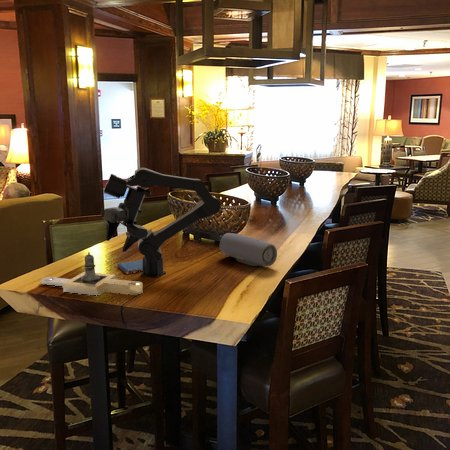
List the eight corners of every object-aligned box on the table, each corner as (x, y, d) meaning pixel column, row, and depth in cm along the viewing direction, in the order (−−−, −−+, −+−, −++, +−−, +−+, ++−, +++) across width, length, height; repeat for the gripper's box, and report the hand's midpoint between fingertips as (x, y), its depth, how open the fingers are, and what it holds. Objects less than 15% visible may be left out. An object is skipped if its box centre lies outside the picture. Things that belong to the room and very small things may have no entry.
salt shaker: (90, 292, 154) (87, 255, 151) (77, 288, 157) (75, 252, 154) (104, 286, 159) (102, 251, 156) (91, 283, 162) (89, 248, 159)
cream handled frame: (116, 283, 162) (116, 279, 161) (97, 296, 151) (97, 291, 150) (53, 277, 168) (52, 272, 168) (30, 288, 157) (30, 284, 157)
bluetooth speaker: (278, 267, 179) (278, 240, 176) (260, 272, 173) (260, 245, 170) (236, 254, 195) (236, 229, 193) (218, 258, 189) (218, 233, 187)
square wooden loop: (150, 287, 158) (149, 278, 158) (133, 300, 147) (132, 291, 146) (84, 280, 165) (83, 271, 164) (63, 292, 154) (62, 283, 153)
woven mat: (154, 271, 176) (154, 265, 175) (125, 276, 171) (125, 270, 170) (144, 263, 185) (143, 258, 184) (116, 268, 180) (116, 262, 179)
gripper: (97, 189, 163) (80, 232, 165) (132, 209, 152) (114, 255, 154) (122, 195, 172) (106, 236, 174) (156, 215, 161) (139, 258, 163)
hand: (115, 245), depth 166 cm, fingers open, 9 cm apart
